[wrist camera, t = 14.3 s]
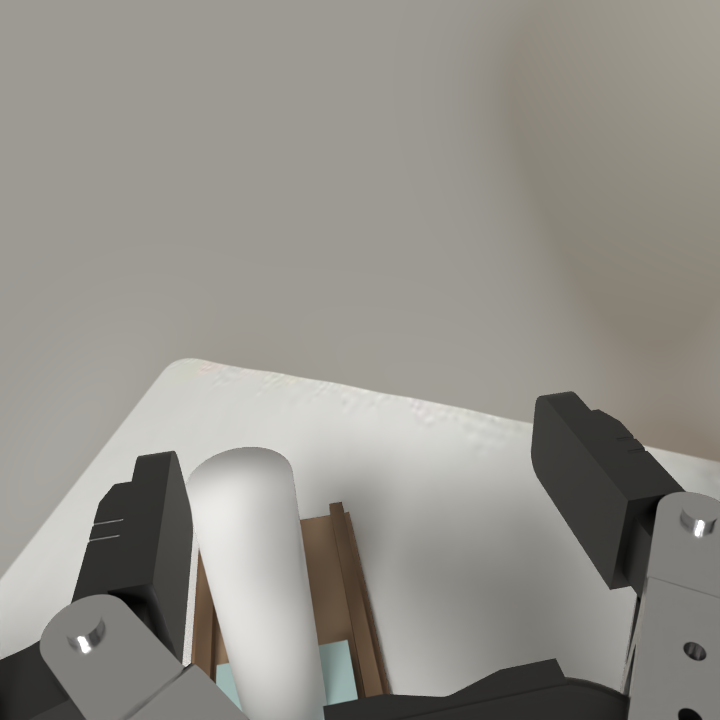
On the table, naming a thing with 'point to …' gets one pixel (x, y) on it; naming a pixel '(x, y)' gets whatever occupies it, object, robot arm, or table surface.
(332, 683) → the keeper
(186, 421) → the table surface
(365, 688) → the rail board
